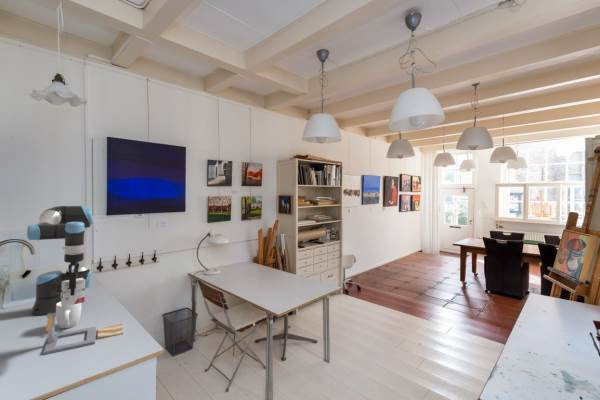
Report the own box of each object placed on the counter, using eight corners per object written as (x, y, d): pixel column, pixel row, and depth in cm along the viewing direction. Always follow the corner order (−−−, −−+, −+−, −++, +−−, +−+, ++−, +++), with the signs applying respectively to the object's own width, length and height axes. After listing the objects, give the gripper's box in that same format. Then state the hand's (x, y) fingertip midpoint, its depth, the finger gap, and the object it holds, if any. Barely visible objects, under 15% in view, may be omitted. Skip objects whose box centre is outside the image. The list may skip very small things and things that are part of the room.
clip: (56, 314, 139) (56, 311, 139) (52, 330, 125) (53, 326, 125) (47, 316, 137) (47, 313, 137) (43, 332, 123) (43, 328, 123)
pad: (97, 330, 153) (97, 328, 153) (121, 325, 160) (121, 324, 160) (97, 339, 144) (97, 337, 144) (122, 334, 151) (122, 332, 151)
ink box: (82, 299, 147) (82, 276, 146) (84, 302, 143) (85, 279, 143) (60, 304, 140) (61, 280, 140) (62, 307, 137) (63, 282, 137)
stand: (49, 337, 144) (50, 310, 144) (95, 328, 155) (96, 303, 155) (43, 354, 129) (44, 325, 129) (94, 343, 140) (95, 316, 140)
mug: (79, 330, 152) (80, 306, 152) (52, 335, 146) (53, 310, 146) (81, 319, 164) (82, 297, 164) (57, 323, 158) (57, 300, 158)
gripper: (66, 250, 147) (65, 294, 147) (62, 258, 131) (60, 307, 132) (84, 248, 151) (83, 291, 152) (82, 256, 135) (81, 304, 136)
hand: (73, 298), depth 142 cm, fingers closed on ink box, 6 cm apart
